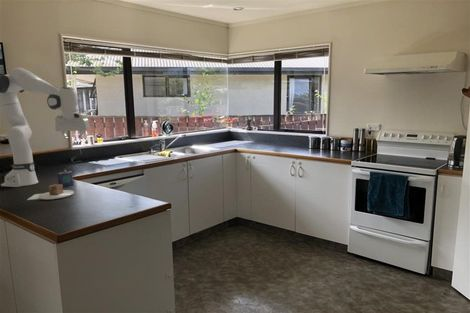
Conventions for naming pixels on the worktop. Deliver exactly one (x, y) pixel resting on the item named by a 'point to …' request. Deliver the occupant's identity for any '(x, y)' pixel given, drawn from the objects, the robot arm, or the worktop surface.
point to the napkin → (34, 197)
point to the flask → (65, 178)
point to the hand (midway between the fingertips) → (73, 138)
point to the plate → (64, 194)
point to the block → (56, 189)
